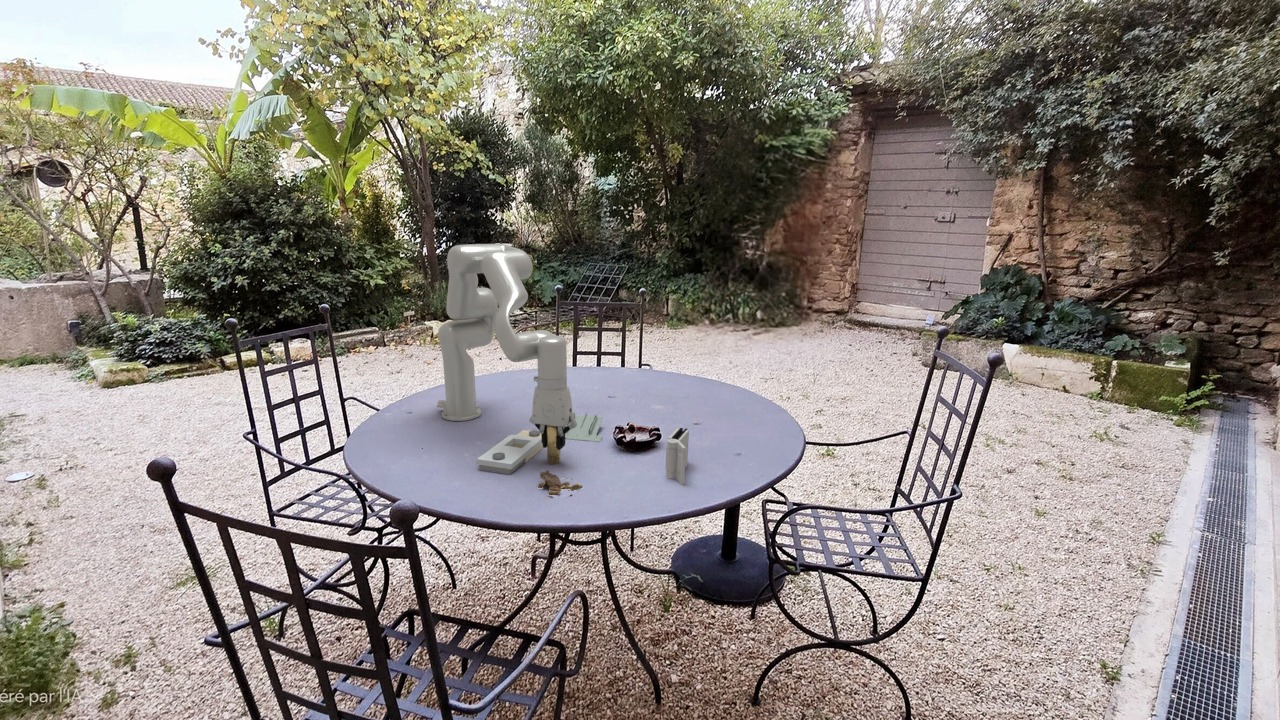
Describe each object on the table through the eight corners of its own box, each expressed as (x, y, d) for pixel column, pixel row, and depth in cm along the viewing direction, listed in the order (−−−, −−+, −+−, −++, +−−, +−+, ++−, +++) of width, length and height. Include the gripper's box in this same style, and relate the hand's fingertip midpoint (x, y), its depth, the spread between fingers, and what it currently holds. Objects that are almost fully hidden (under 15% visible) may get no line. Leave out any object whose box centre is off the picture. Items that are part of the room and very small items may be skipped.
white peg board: (511, 474, 152) (511, 461, 151) (477, 469, 155) (476, 456, 154) (553, 438, 176) (553, 426, 175) (523, 434, 179) (522, 422, 178)
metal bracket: (563, 407, 187) (609, 411, 184) (565, 422, 190) (610, 426, 187) (549, 435, 175) (598, 439, 172) (551, 450, 178) (599, 455, 175)
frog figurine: (521, 492, 144) (521, 478, 143) (555, 475, 153) (555, 461, 152) (556, 506, 137) (556, 491, 136) (589, 487, 147) (589, 473, 146)
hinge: (684, 485, 148) (685, 448, 146) (663, 483, 149) (664, 446, 146) (688, 462, 162) (689, 428, 159) (668, 460, 162) (669, 426, 160)
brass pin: (544, 462, 159) (544, 421, 156) (550, 457, 163) (549, 416, 159) (557, 464, 158) (556, 422, 155) (562, 459, 162) (562, 418, 159)
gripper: (517, 383, 153) (519, 448, 158) (576, 389, 149) (576, 456, 154) (530, 375, 160) (532, 438, 165) (587, 381, 156) (587, 446, 161)
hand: (553, 446), depth 159 cm, fingers closed on brass pin, 3 cm apart
